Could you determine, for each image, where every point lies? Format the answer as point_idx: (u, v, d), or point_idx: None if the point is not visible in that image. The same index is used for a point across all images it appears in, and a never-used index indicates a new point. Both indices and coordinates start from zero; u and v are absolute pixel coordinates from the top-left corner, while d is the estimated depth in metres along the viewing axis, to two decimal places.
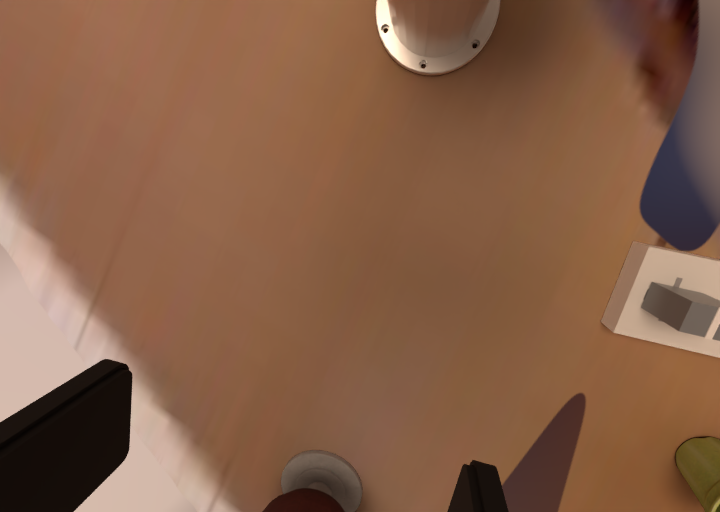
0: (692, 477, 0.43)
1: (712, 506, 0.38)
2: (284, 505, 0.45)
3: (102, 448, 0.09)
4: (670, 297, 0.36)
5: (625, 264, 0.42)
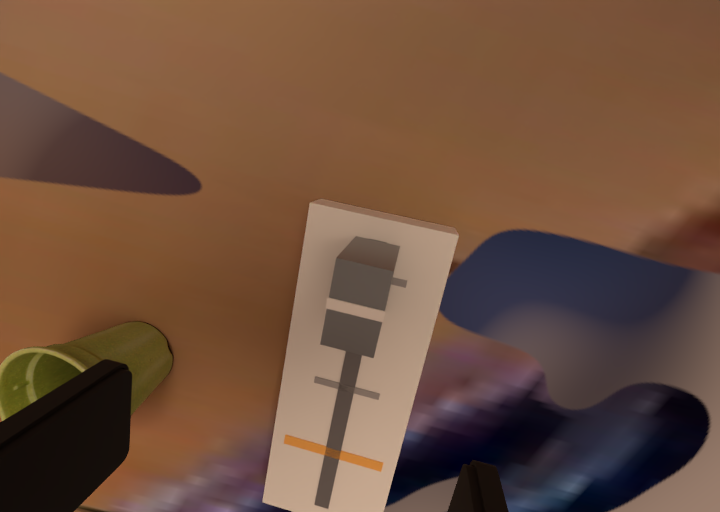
0: (103, 334, 0.29)
1: (51, 349, 0.24)
2: None
3: (102, 448, 0.09)
4: (387, 256, 0.21)
5: (417, 220, 0.27)
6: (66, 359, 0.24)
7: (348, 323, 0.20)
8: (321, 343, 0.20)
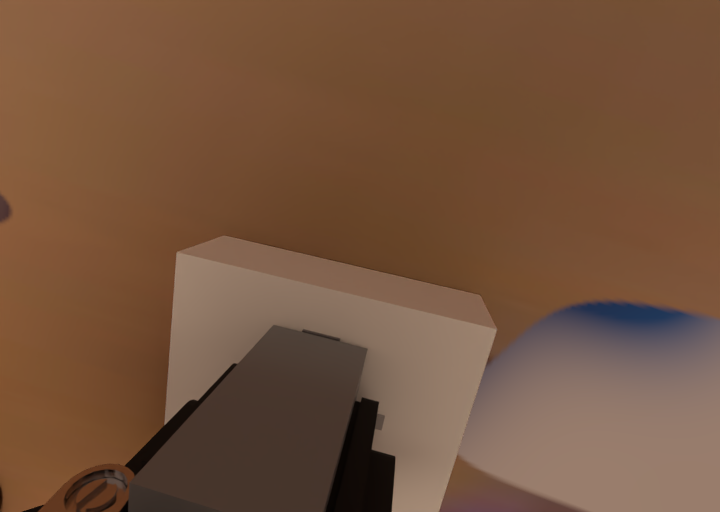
0: None
1: None
2: None
3: None
4: (323, 413, 0.08)
5: (407, 280, 0.14)
6: None
7: None
8: None
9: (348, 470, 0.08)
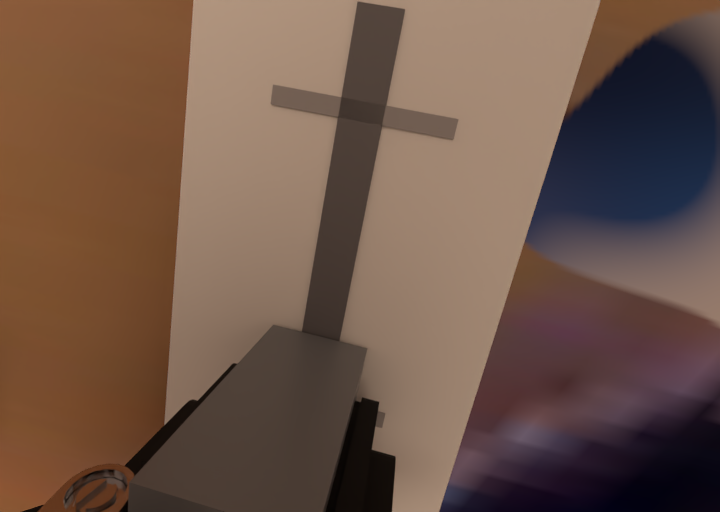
0: None
1: None
2: None
3: None
4: (322, 413, 0.08)
5: None
6: None
7: None
8: None
9: (348, 470, 0.08)
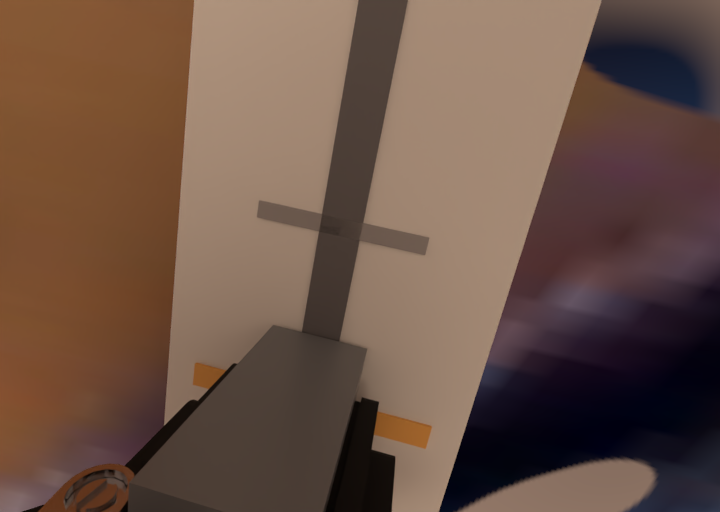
0: None
1: None
2: None
3: None
4: (322, 413, 0.08)
5: None
6: None
7: None
8: None
9: (348, 470, 0.08)
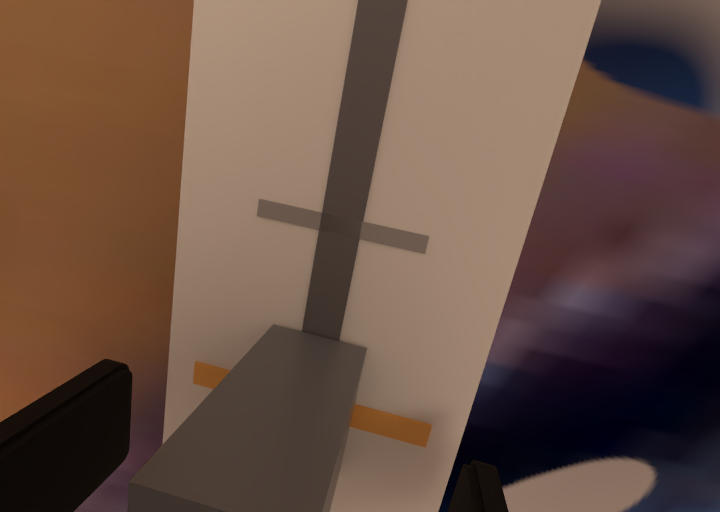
0: None
1: None
2: None
3: (102, 448, 0.09)
4: (322, 413, 0.08)
5: None
6: None
7: None
8: None
9: None
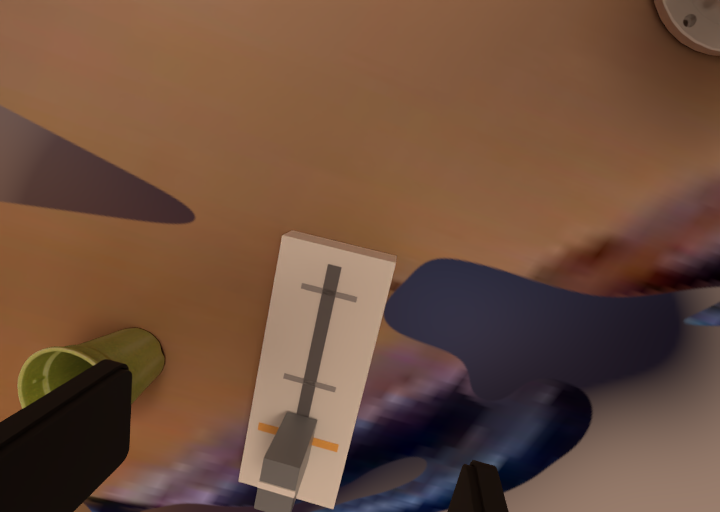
0: (108, 338, 0.35)
1: (70, 348, 0.30)
2: None
3: (102, 448, 0.09)
4: (302, 442, 0.32)
5: (367, 249, 0.34)
6: (82, 357, 0.30)
7: (272, 496, 0.30)
8: (254, 507, 0.30)
9: None
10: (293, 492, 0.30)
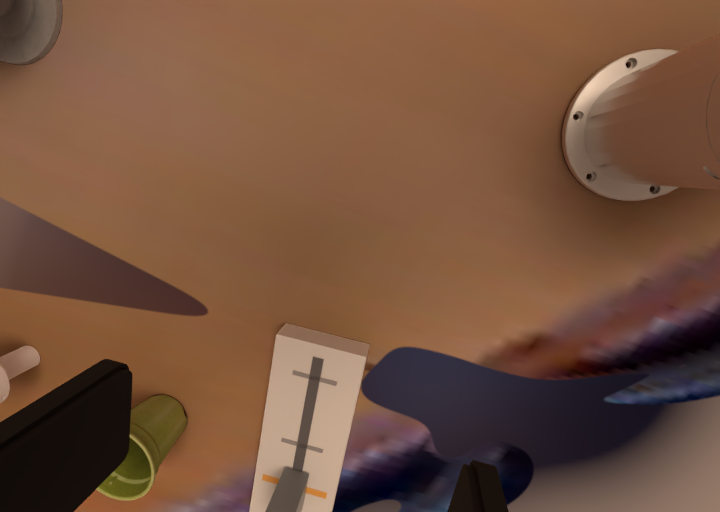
0: (142, 409, 0.44)
1: None
2: None
3: (102, 448, 0.09)
4: (295, 496, 0.40)
5: (346, 339, 0.42)
6: None
7: None
8: None
9: None
10: None
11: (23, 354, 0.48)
